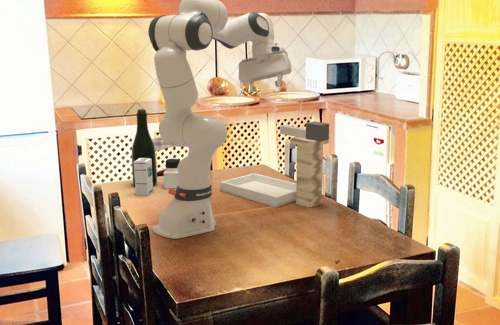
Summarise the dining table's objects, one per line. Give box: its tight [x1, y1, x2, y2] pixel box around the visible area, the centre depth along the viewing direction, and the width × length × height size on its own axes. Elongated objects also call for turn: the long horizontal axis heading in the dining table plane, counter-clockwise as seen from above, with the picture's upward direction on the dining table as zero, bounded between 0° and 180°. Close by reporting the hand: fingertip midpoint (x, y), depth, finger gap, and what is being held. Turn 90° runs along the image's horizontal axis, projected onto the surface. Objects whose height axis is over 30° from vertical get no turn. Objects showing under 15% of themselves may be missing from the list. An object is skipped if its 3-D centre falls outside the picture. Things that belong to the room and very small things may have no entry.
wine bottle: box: [131, 108, 158, 187], centre depth 260 cm, size 10×10×33 cm
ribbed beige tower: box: [290, 136, 330, 208], centre depth 232 cm, size 10×10×26 cm
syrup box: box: [134, 158, 154, 197], centre depth 249 cm, size 6×6×14 cm
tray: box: [219, 172, 296, 208], centre depth 249 cm, size 20×32×4 cm, turn 44°
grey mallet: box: [279, 121, 330, 141], centre depth 231 cm, size 5×21×6 cm, turn 44°
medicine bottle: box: [163, 157, 181, 190], centre depth 260 cm, size 7×7×12 cm
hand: (265, 88), depth 225 cm, fingers open, 8 cm apart
